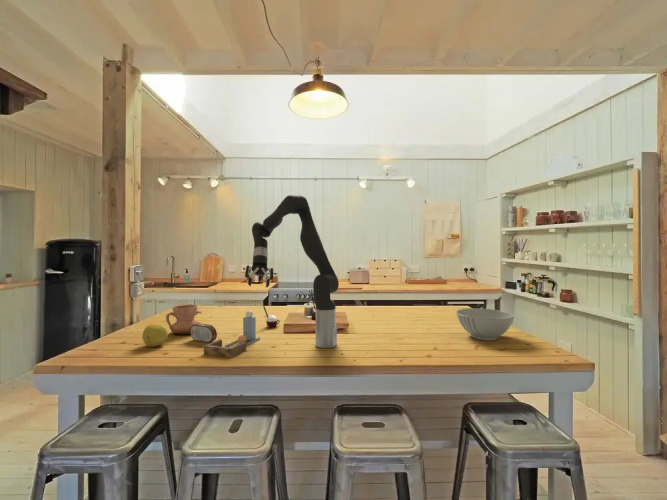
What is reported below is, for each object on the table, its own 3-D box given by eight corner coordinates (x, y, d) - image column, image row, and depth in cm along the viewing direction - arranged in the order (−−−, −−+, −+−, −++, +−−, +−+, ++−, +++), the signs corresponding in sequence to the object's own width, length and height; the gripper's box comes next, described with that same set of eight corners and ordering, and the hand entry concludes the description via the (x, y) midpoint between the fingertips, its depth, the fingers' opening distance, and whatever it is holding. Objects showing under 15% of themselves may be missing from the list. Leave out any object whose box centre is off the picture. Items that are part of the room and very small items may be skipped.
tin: (217, 342, 167) (217, 325, 167) (212, 344, 164) (212, 326, 164) (194, 338, 174) (193, 321, 173) (189, 340, 171) (188, 323, 170)
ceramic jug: (205, 328, 193) (205, 303, 193) (199, 335, 179) (198, 307, 179) (171, 330, 191) (170, 304, 191) (162, 337, 176) (161, 309, 176)
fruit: (162, 348, 157) (162, 326, 157) (137, 349, 156) (137, 327, 156) (171, 342, 167) (171, 321, 167) (148, 342, 167) (148, 321, 166)
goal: (245, 350, 156) (245, 342, 156) (231, 357, 146) (231, 349, 146) (219, 346, 160) (219, 339, 160) (203, 353, 150) (203, 345, 150)
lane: (259, 339, 173) (259, 337, 173) (240, 349, 157) (240, 347, 157) (245, 337, 175) (245, 335, 175) (224, 347, 159) (224, 345, 159)
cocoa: (279, 325, 202) (280, 305, 202) (279, 328, 196) (280, 306, 196) (262, 325, 201) (263, 304, 201) (261, 327, 194) (262, 306, 195)
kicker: (255, 339, 172) (255, 309, 172) (251, 341, 169) (251, 311, 168) (247, 338, 174) (246, 309, 173) (242, 340, 170) (242, 310, 170)
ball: (247, 343, 166) (247, 334, 166) (243, 345, 162) (243, 336, 162) (240, 342, 167) (240, 334, 167) (235, 344, 164) (235, 336, 164)
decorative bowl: (454, 341, 171) (454, 316, 170) (457, 328, 195) (457, 306, 195) (516, 347, 160) (516, 321, 160) (511, 333, 185) (511, 310, 185)
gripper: (247, 252, 180) (245, 282, 173) (275, 256, 185) (274, 285, 178) (245, 258, 186) (243, 287, 180) (272, 261, 191) (270, 289, 184)
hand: (258, 286), depth 179 cm, fingers open, 8 cm apart
